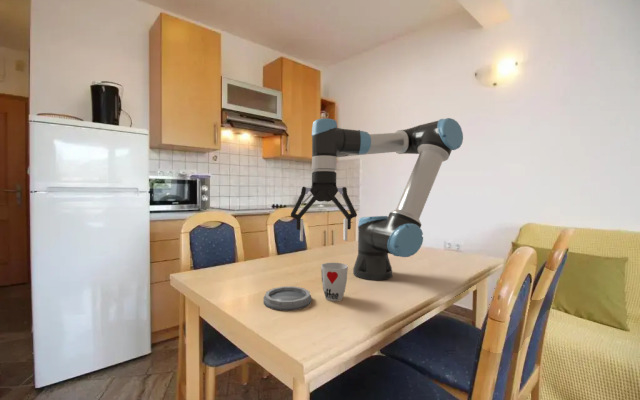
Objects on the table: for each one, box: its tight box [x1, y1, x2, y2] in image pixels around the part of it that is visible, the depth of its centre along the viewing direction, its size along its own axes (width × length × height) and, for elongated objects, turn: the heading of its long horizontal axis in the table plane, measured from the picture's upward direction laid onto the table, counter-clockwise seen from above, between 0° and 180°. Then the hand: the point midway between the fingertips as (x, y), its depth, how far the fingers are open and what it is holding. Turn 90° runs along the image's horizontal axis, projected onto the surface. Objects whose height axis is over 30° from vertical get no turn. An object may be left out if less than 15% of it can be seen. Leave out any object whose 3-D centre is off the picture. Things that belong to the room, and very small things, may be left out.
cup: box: [320, 262, 349, 302], centre depth 89 cm, size 8×8×10 cm
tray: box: [263, 285, 312, 312], centre depth 87 cm, size 14×14×2 cm
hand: (323, 240), depth 90 cm, fingers open, 13 cm apart
